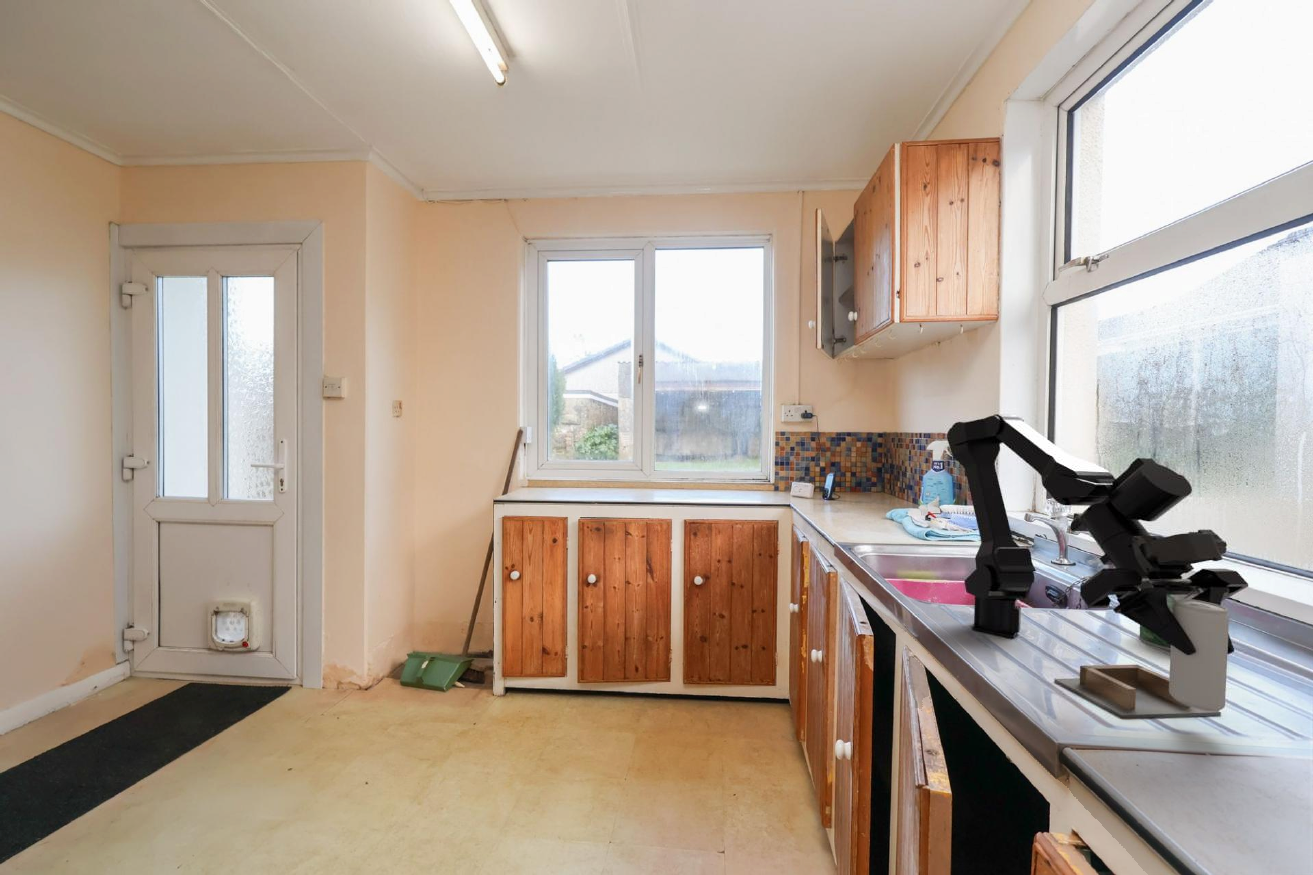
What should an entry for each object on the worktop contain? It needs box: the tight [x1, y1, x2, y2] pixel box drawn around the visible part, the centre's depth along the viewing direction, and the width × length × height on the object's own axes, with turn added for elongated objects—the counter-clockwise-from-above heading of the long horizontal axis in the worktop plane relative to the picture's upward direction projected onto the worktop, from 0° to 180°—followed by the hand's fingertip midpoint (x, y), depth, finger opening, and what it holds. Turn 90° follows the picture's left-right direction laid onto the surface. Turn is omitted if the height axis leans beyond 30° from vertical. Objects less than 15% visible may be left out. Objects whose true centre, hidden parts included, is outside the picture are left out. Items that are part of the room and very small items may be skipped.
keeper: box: [1053, 664, 1222, 719], centre depth 73 cm, size 10×14×3 cm
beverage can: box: [1168, 599, 1230, 712], centre depth 65 cm, size 5×5×12 cm
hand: (1211, 653), depth 63 cm, fingers closed on beverage can, 5 cm apart
